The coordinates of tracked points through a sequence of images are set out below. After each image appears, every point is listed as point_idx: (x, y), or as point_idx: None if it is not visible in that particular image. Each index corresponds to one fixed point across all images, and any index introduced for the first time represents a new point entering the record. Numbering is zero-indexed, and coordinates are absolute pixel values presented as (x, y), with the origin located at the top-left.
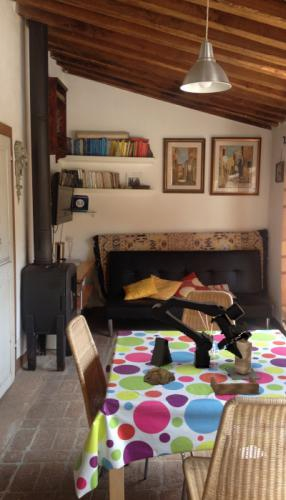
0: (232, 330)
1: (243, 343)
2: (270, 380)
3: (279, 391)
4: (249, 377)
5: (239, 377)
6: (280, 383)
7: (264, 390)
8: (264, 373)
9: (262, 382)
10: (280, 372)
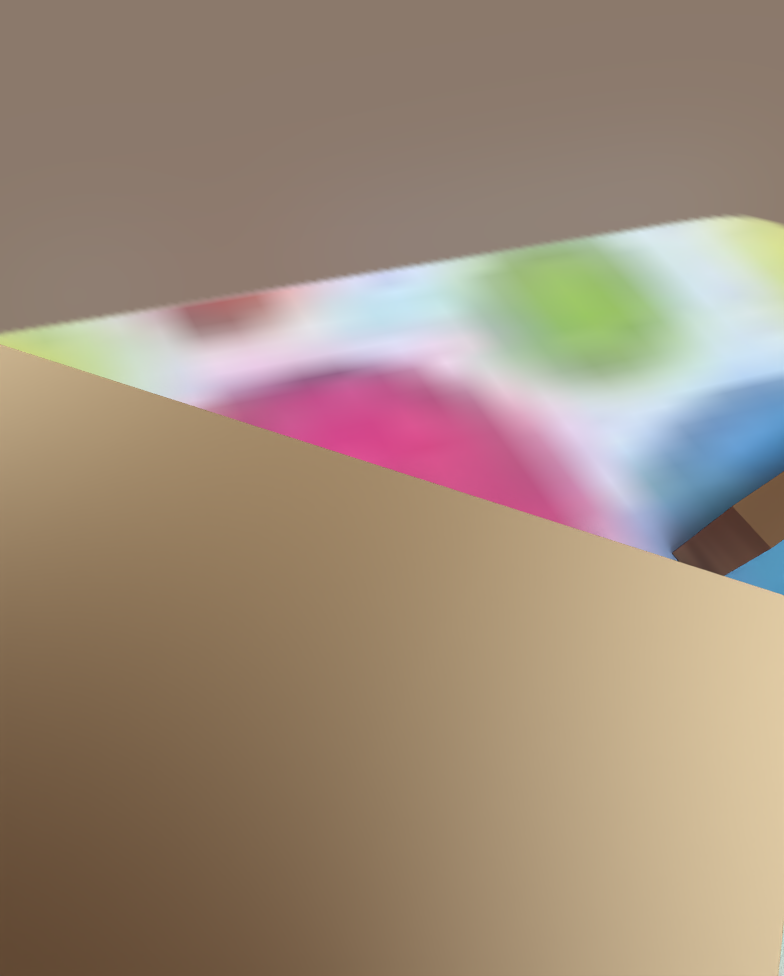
0: None
1: (604, 874)
2: (391, 379)
3: (659, 242)
4: (778, 541)
5: None
6: (425, 273)
7: (749, 371)
8: None
9: (516, 446)
10: (53, 335)
